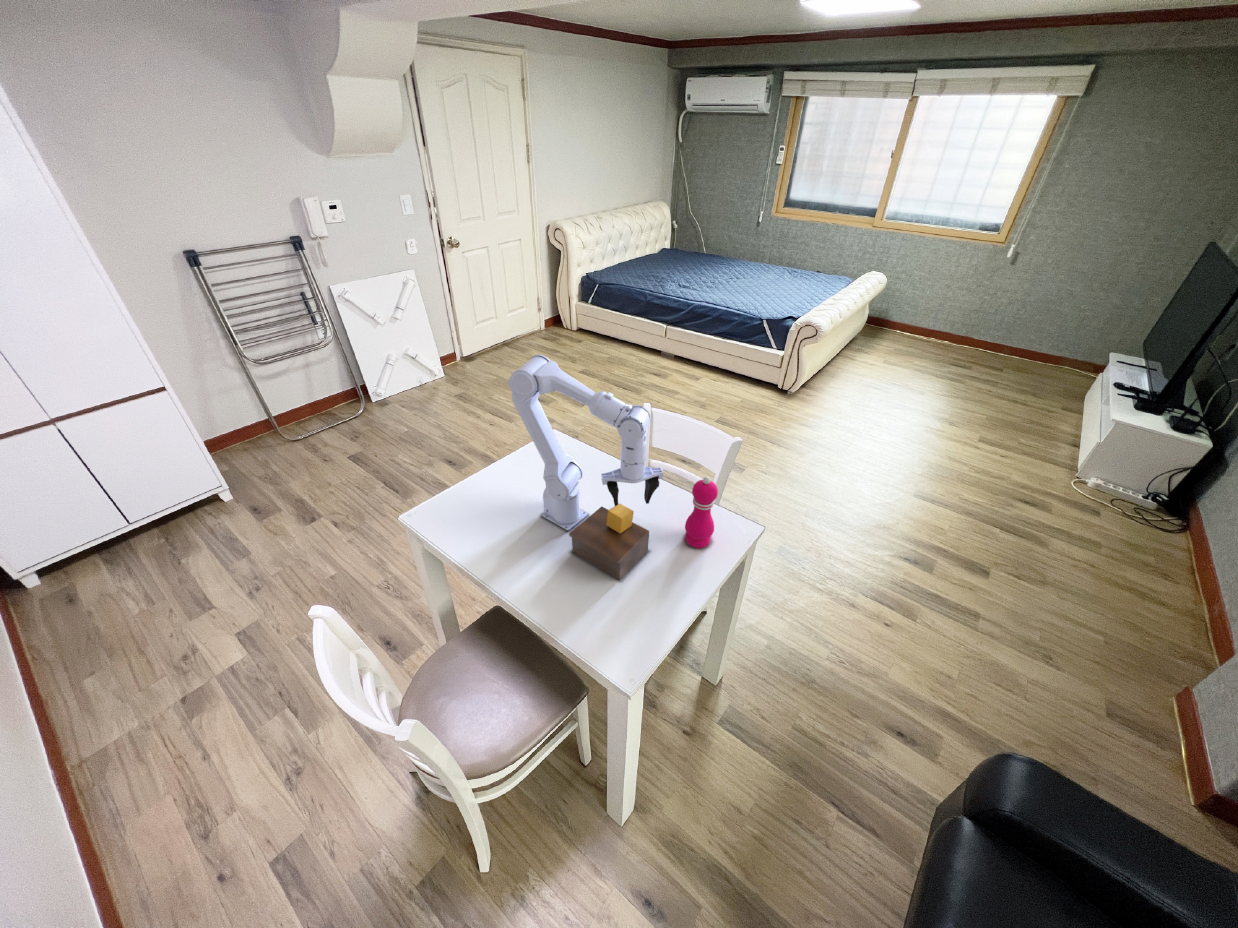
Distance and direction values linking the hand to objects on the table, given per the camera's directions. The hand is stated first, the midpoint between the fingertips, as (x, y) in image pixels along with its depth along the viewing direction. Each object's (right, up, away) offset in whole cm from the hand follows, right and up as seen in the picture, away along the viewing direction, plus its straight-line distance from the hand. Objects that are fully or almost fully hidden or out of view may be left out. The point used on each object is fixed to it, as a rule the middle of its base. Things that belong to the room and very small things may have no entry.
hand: (631, 502), depth 120 cm
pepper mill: (+17, -10, +5) cm, 20 cm away
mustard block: (-3, -5, -2) cm, 7 cm away
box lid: (-5, -7, -3) cm, 10 cm away
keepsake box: (-5, -12, +1) cm, 13 cm away
